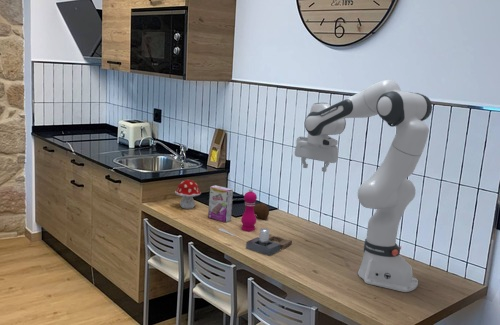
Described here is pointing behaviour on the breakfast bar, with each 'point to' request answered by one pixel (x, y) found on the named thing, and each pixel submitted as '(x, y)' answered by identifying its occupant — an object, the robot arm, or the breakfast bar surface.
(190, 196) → the decorative mushroom
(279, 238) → the wooden picture frame
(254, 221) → the pepper mill
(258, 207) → the brown rounded lump
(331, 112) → the robot arm
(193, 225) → the breakfast bar surface
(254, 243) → the socket block
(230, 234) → the butter knife
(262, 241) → the steel axle
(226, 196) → the candy bar box
